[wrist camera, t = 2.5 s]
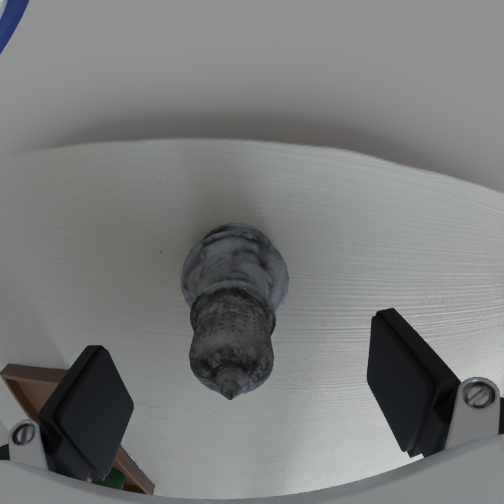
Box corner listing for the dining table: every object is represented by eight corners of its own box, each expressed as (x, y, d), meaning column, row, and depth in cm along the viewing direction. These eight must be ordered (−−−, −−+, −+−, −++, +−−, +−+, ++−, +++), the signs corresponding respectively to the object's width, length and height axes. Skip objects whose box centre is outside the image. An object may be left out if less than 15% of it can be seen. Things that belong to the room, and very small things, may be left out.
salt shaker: (210, 204, 18) (157, 272, 6) (295, 240, 19) (371, 349, 7) (179, 284, 19) (118, 418, 8) (258, 314, 20) (275, 462, 8)
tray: (8, 363, 21) (-1, 373, 19) (72, 370, 21) (63, 383, 19) (92, 475, 28) (89, 484, 26) (154, 485, 28) (152, 496, 26)
